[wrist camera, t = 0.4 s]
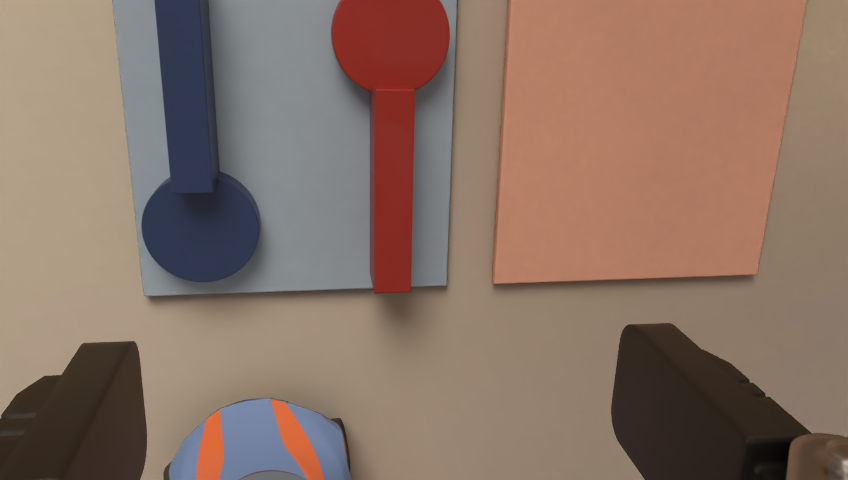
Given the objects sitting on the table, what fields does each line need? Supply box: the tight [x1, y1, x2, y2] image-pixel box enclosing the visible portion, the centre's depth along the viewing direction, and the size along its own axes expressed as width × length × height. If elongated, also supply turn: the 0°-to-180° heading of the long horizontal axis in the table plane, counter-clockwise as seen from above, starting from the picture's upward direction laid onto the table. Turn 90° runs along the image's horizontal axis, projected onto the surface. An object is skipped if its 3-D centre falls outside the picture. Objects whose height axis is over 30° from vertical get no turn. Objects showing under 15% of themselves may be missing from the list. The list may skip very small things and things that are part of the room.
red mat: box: [492, 0, 807, 284], centre depth 29 cm, size 13×12×1 cm
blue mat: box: [112, 0, 457, 296], centre depth 27 cm, size 13×12×1 cm
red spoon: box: [331, 0, 450, 293], centre depth 27 cm, size 11×4×2 cm, turn 179°
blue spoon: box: [141, 0, 261, 282], centre depth 26 cm, size 11×4×2 cm, turn 178°
